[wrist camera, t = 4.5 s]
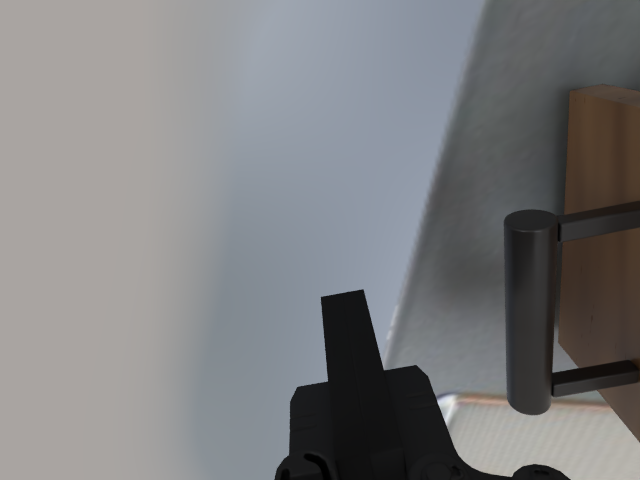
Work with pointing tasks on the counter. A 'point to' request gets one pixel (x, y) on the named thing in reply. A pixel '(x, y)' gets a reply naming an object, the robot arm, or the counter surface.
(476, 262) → the counter surface
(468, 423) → the counter surface
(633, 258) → the drawer
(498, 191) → the counter surface
